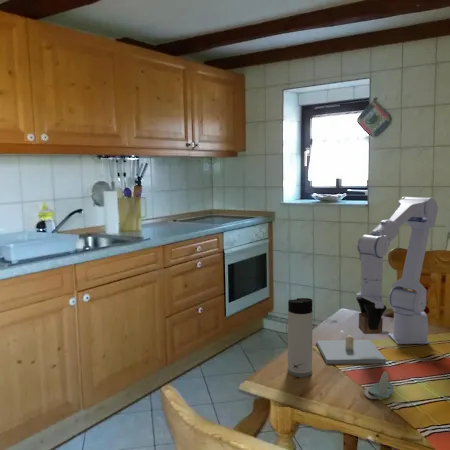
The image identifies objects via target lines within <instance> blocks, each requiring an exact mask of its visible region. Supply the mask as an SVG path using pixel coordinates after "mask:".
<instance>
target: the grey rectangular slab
mask: <svg viewBox="0 0 450 450" xmlns="http://www.w3.org/2000/svg"><path fill="white" fill-rule="evenodd" d="M316 346H317V348H318V350H319V351H320V354H321V355H322V358H323V359H324V361H325V363H326V365H337V364H338V365H341V364H342V365H343V364H344V365H348V364H349V365H350V364H357V365H358V364H386V363H387V362H386V361H387V360H386V357H385V356H384V355H383V354H382V353H381V352H380V350H379V349H378V348H377V347H376V346H375V344H374V343H373V342H372V340H371V339H354V337H353V336H352V335H350V334H349V335H346V336H345V339H342V340H341V339H340V340H339V339H338V340H337V339H334V340H329V339H328V340H316Z"/></svg>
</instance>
